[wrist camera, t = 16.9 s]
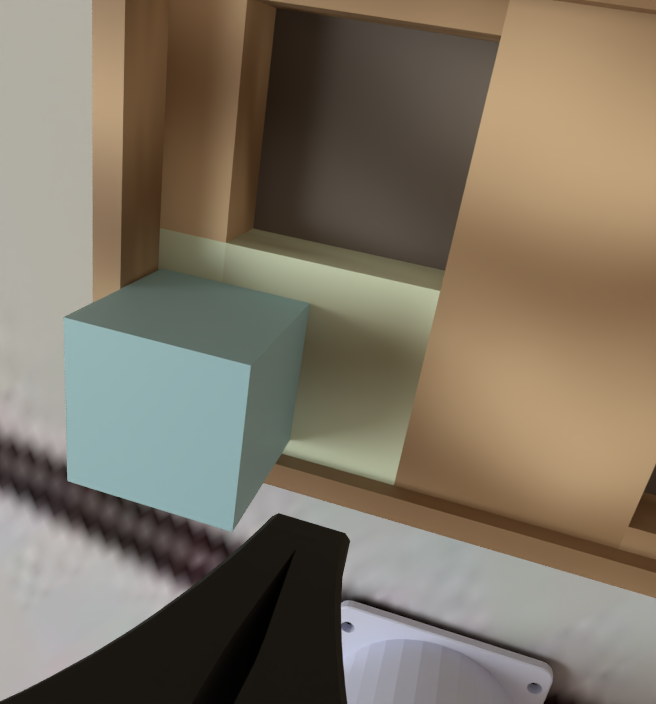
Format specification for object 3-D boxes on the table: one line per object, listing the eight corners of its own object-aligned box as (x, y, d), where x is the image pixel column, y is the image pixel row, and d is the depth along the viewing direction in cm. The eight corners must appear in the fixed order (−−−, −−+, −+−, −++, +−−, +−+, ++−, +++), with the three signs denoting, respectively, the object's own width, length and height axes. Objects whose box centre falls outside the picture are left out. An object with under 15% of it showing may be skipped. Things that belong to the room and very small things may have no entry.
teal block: (289, 440, 19) (232, 531, 15) (155, 403, 20) (67, 480, 16) (310, 303, 17) (250, 365, 13) (161, 268, 18) (63, 317, 14)
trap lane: (967, 622, 18) (1093, 766, 14) (164, 399, 23) (93, 463, 19) (1385, 87, 12) (1797, 82, 8) (189, -73, 17) (92, -125, 13)
